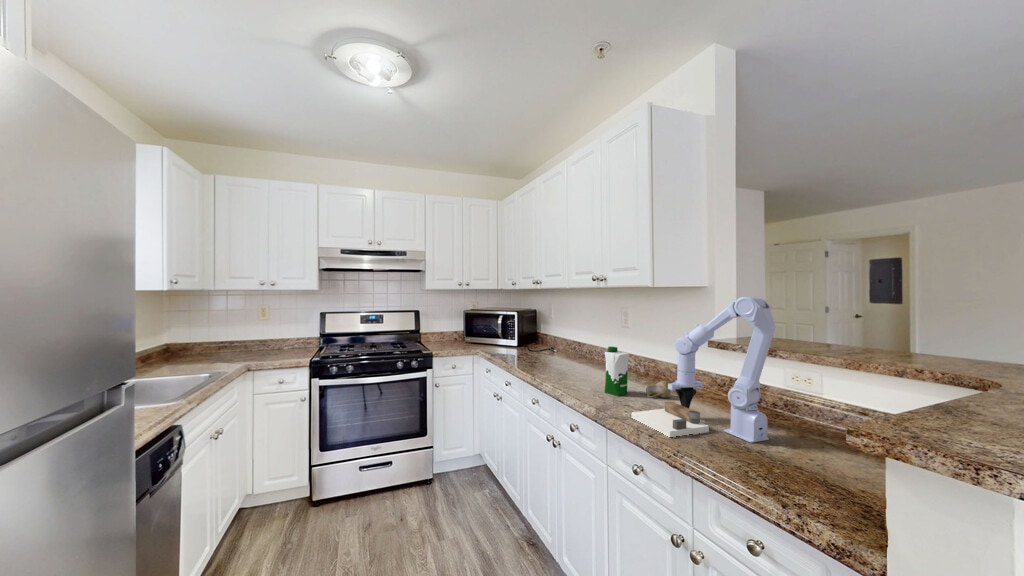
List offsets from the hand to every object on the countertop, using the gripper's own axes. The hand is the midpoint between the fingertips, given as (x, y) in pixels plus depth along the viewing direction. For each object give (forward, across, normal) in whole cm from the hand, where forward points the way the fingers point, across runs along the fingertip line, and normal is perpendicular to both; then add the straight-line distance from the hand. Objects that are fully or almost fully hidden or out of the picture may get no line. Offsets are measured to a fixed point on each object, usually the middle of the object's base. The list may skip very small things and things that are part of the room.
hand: (685, 408), depth 130 cm
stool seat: (+3, +11, +4) cm, 12 cm away
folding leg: (+1, +5, +4) cm, 7 cm away
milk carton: (+3, +6, -33) cm, 34 cm away
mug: (+4, -10, -24) cm, 26 cm away
